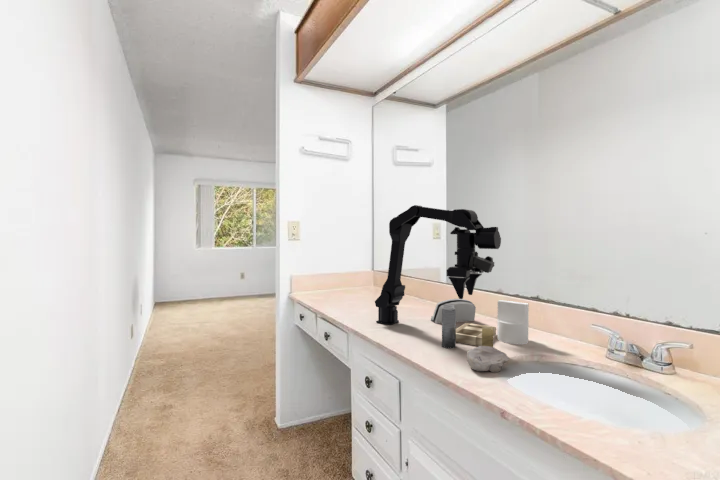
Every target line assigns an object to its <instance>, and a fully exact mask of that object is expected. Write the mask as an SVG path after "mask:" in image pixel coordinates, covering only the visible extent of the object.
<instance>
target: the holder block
mask: <svg viewBox="0 0 720 480" xmlns="http://www.w3.org/2000/svg"><path fill="white" fill-rule="evenodd" d="M482 326H488V327H493V337H495V336H497V326H493V325H484V324H476V323H470V322H465V323H463V324H462V325H460V326H459V327H456V343H460V344H465V345H471V346H476V347H479V346H482Z"/></svg>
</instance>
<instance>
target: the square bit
mask: <svg viewBox="0 0 720 480" xmlns="http://www.w3.org/2000/svg"><path fill="white" fill-rule="evenodd" d="M488 326H489V325H486V326H482V346H489V347H494V336H493V327H494V326H493V327H488Z"/></svg>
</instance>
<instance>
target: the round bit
mask: <svg viewBox="0 0 720 480" xmlns="http://www.w3.org/2000/svg"><path fill="white" fill-rule="evenodd" d="M456 329H457V322H456V309H454V304H448V303H446V304H444V308H443V309H442V323H441V347H443V349H444V348H445V349H455V348H456V347H457V342H456Z"/></svg>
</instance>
